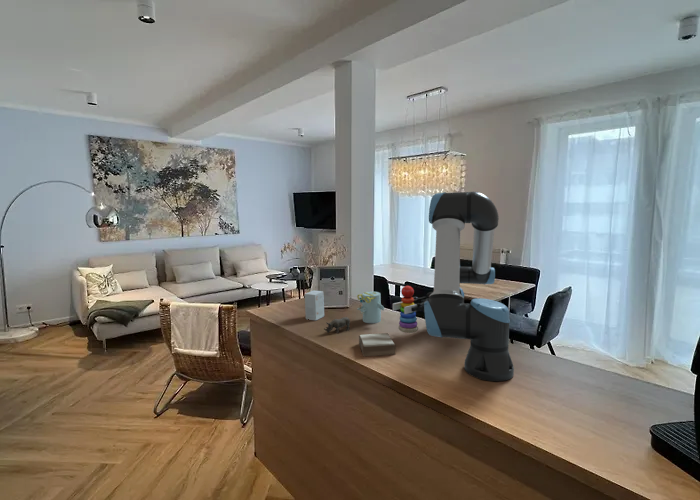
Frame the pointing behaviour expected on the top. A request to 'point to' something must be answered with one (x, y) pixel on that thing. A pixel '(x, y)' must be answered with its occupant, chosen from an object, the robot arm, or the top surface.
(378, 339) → the pedestal
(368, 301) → the character sculpture
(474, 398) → the top surface
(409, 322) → the stacking toy
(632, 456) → the top surface
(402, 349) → the top surface
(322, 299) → the small box
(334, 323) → the rhino figurine
